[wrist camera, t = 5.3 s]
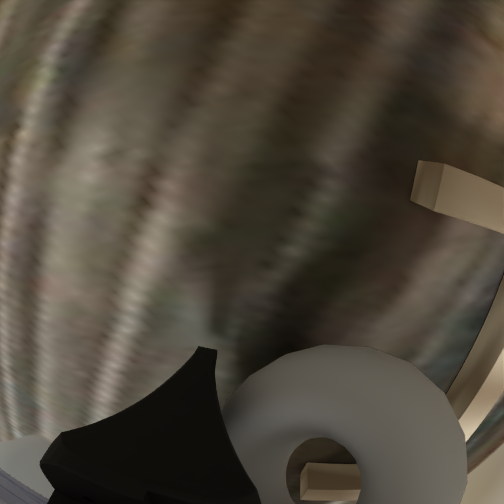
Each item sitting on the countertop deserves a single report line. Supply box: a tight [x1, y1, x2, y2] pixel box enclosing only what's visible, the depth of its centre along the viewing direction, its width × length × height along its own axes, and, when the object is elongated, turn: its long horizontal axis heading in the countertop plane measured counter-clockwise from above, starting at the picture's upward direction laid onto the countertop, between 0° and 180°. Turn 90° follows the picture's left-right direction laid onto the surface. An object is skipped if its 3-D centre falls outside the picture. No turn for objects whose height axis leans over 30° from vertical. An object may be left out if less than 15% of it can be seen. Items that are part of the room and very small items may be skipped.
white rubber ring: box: [221, 344, 467, 504], centre depth 8 cm, size 10×4×10 cm
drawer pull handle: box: [300, 160, 504, 501], centre depth 11 cm, size 21×8×2 cm, turn 171°
